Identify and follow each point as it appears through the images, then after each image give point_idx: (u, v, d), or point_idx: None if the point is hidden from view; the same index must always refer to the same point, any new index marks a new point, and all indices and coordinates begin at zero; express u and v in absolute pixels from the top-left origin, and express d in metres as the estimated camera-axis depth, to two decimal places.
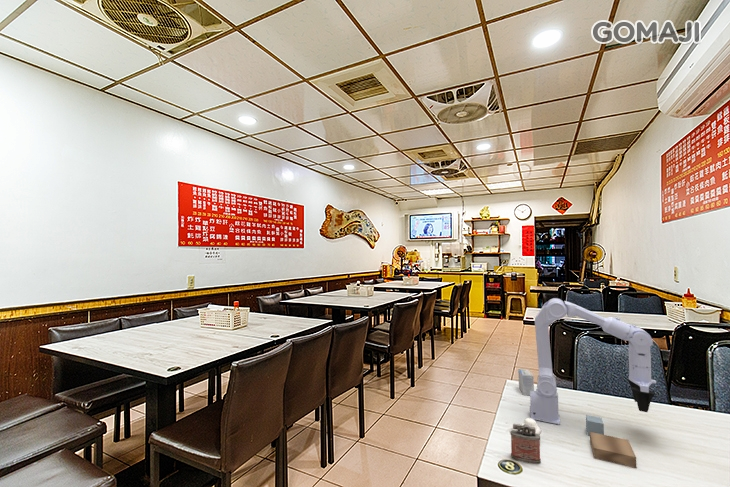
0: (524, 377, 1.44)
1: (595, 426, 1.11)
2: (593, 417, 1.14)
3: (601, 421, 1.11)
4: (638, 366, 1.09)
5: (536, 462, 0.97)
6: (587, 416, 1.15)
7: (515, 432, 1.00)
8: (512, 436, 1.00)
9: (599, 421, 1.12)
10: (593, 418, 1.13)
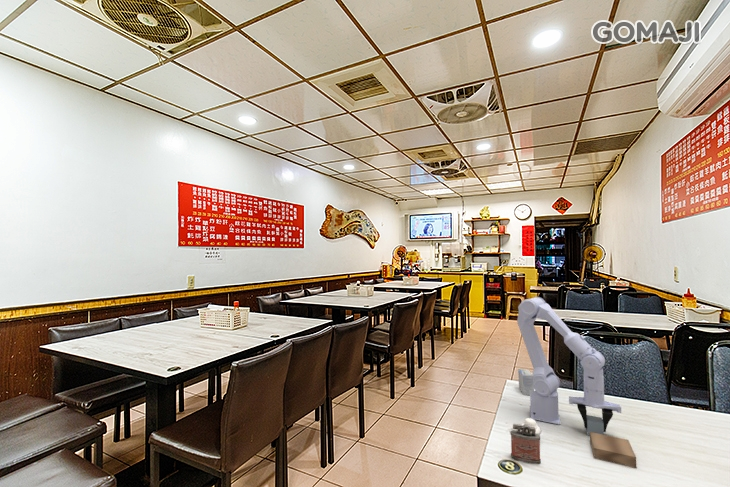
0: (524, 377, 1.44)
1: (595, 426, 1.11)
2: (593, 417, 1.14)
3: (601, 421, 1.11)
4: (588, 389, 1.12)
5: (536, 462, 0.97)
6: (587, 416, 1.15)
7: (515, 432, 1.00)
8: (512, 436, 1.00)
9: (599, 421, 1.12)
10: (593, 418, 1.13)
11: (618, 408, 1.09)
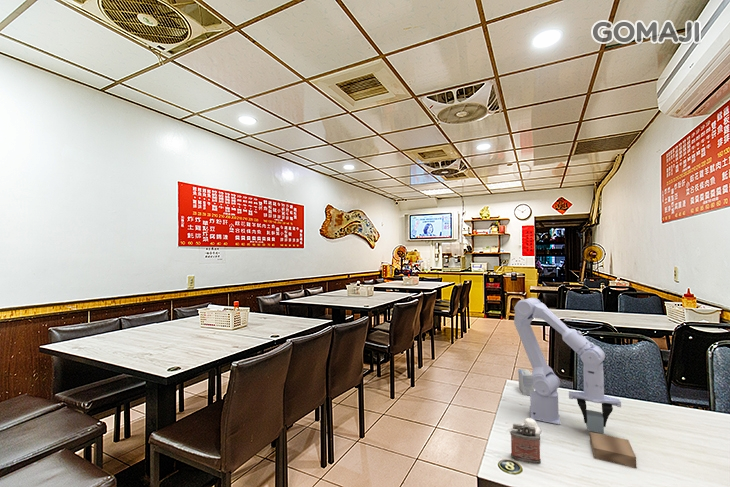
0: (524, 377, 1.44)
1: (594, 421, 1.11)
2: (593, 411, 1.14)
3: (601, 415, 1.12)
4: (588, 383, 1.12)
5: (536, 462, 0.97)
6: (587, 411, 1.15)
7: (515, 432, 1.00)
8: (512, 436, 1.00)
9: (599, 415, 1.12)
10: (593, 413, 1.13)
11: (618, 402, 1.09)
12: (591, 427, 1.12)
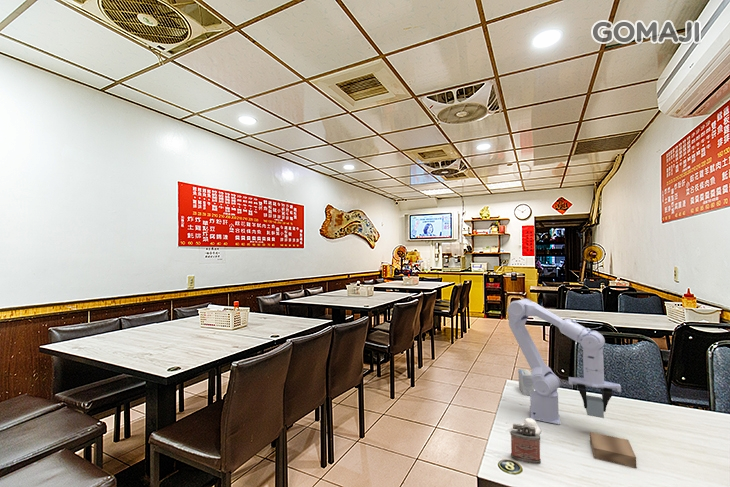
0: (524, 377, 1.44)
1: (594, 406, 1.11)
2: (593, 397, 1.14)
3: (601, 400, 1.12)
4: (588, 368, 1.12)
5: (536, 462, 0.97)
6: (587, 396, 1.15)
7: (515, 432, 1.00)
8: (512, 436, 1.00)
9: (599, 400, 1.12)
10: (592, 398, 1.13)
11: (618, 387, 1.09)
12: (591, 412, 1.11)
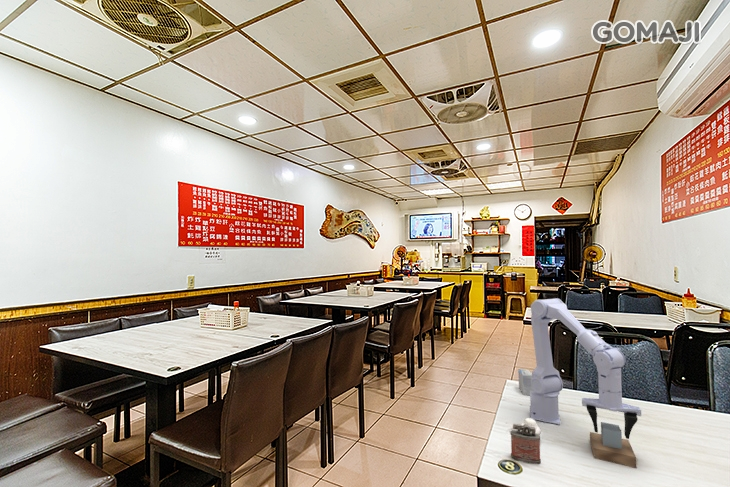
0: (524, 377, 1.44)
1: (611, 435, 1.00)
2: (609, 424, 1.03)
3: (618, 429, 1.01)
4: (600, 388, 1.02)
5: (536, 462, 0.97)
6: (602, 423, 1.04)
7: (515, 432, 1.00)
8: (512, 436, 1.00)
9: (616, 429, 1.01)
10: (609, 426, 1.02)
11: (638, 411, 0.98)
12: (607, 442, 1.01)
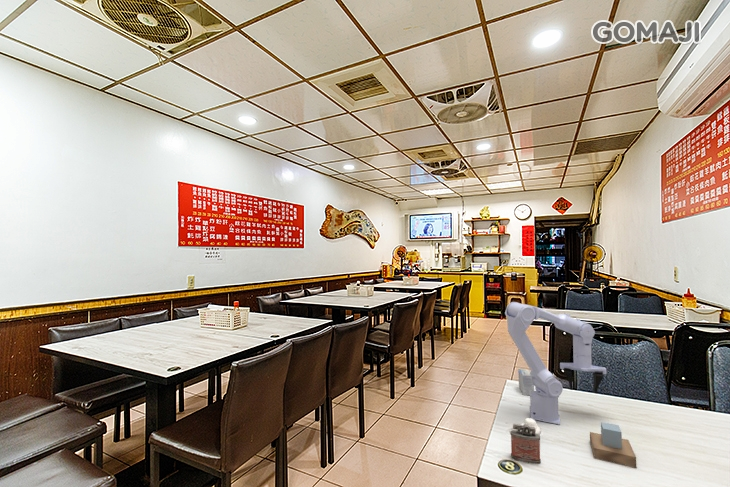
0: (524, 377, 1.44)
1: (611, 435, 1.00)
2: (609, 424, 1.03)
3: (618, 429, 1.01)
4: (585, 355, 1.23)
5: (536, 462, 0.97)
6: (602, 423, 1.04)
7: (515, 432, 1.00)
8: (512, 436, 1.00)
9: (616, 429, 1.01)
10: (609, 426, 1.02)
11: (604, 370, 1.22)
12: (607, 442, 1.01)
